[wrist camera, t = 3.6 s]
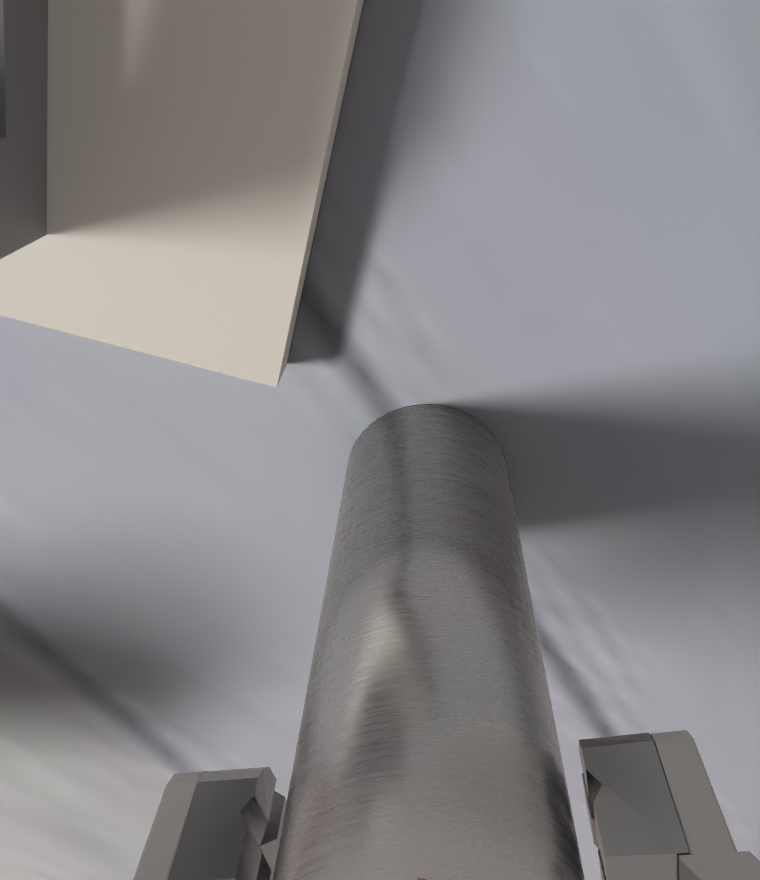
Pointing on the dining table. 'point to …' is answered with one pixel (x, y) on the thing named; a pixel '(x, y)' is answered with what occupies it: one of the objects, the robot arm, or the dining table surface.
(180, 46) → the stand
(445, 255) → the dining table surface
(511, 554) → the tube
